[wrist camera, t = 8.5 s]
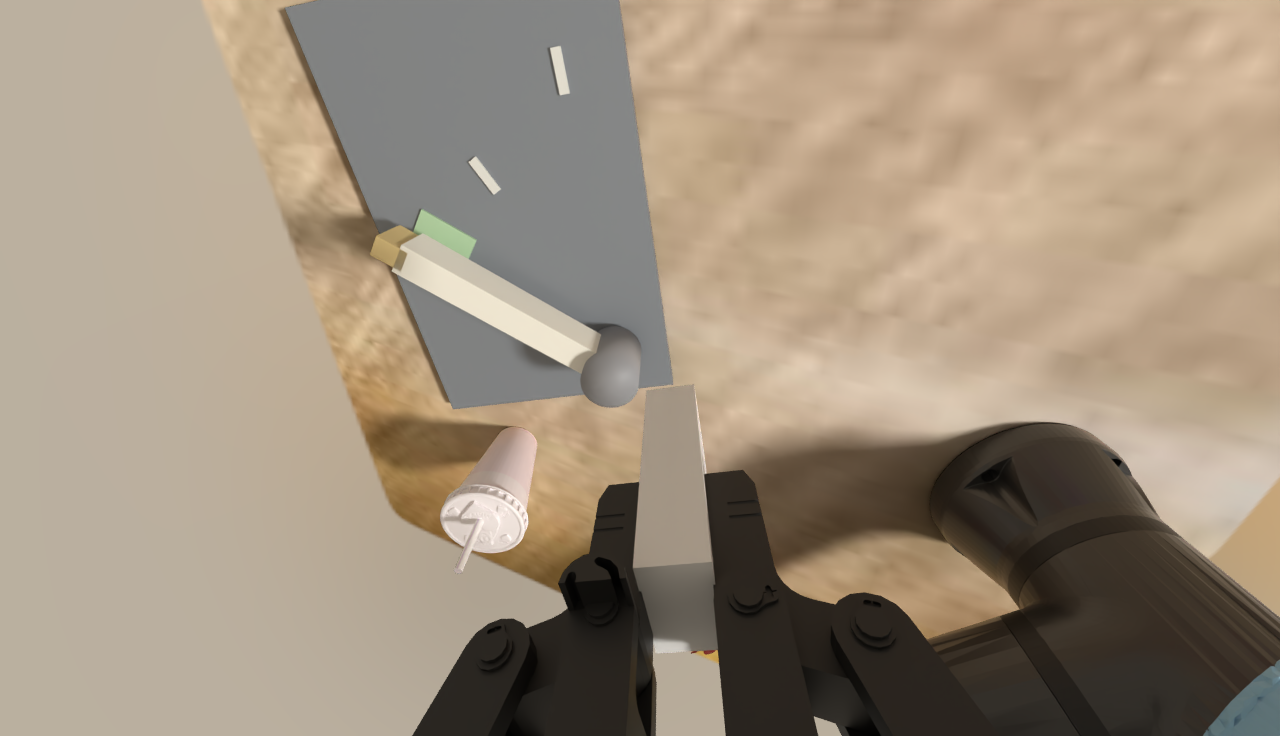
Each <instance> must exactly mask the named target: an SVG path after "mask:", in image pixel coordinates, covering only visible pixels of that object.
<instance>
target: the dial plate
mask: <svg viewBox="0 0 1280 736" xmlns="http://www.w3.org/2000/svg"><path fill="white" fill-rule="evenodd" d="M285 10H286V12H287V15H288V17H289V19H290V22H291V24H292V27H293V29H294V31H295V34H296V36H297V38H298V41H299V43H300V46H301V48H302V50H303V53H304V55H305V58H306V60H307V62H308V65H309V67H310V69H311V72H312V74H313V77H314V79H315V81H316V84H317V86H318V88H319V91H320V93H321V96H322V98H323V100H324V103H325V105H326V108H327V110H328V112H329V115H330V117H331V119H332V122H333V124H334V127H335V129H336V131H337V134H338V136H339V139H340V141H341V143H342V146H343V148H344V150H345V153H346V155H347V158H348V160H349V162H350V165H351V167H352V170H353V172H354V174H355V177H356V179H357V181H358V184H359V186H360V189H361V191H362V193H363V196H364V198H365V201H366V203H367V205H368V208H369V210H370V212H371V215H372V217H373V220H374V222H375V224H376V227H377V229H378V232H379V234H381V233H383V232H385V231H388V230H390V229H392V228H394V227H396V226H399V225H401V226H403V227H405V228H406V229H408V230H410V231H412V232H413V233H415V234H417V235H421V234H422V233H423V234H425V235H427V236H429V237H430V238H432V239H434V240H436V241H438V242H439V243H441V244H443V245H445V246H446V247H448V248H450V249H452V250H453V251H455V252H457V253H459V254H460V255H462V256H464V257H466V258H467V259H469V260H471V261H473V262H474V263H476V264H478V265H480V266H482V267H483V268H485V269H487V270H489V271H490V272H492V273H494V274H496V275H497V276H499V277H501V278H503V279H504V280H506V281H508V282H510V283H511V284H513V285H515V286H517V287H518V288H520V289H522V290H524V291H526V292H527V293H529V294H531V295H533V296H534V297H536V298H538V299H540V300H541V301H543V302H545V303H547V304H548V305H550V306H552V307H554V308H555V309H557V310H559V311H561V312H562V313H564V314H566V315H568V316H570V317H571V318H573V319H575V320H577V321H578V322H580V323H582V324H584V325H585V326H587V327H589V328H591V329H592V330H594V331H596V332H598V331H600V330H601V329H603V328H606V327H610V326H619V327H623V328H626V329H628V330H630V331H631V332H632V333H634V334H635V335H636V337H637V338H638V340H639V342H640V344H641V362H640V375H639V387H638V388H646V387H655V386H664V385H673V376H672V369H671V362H670V355H669V348H668V341H667V334H666V327H665V320H664V313H663V306H662V299H661V291H660V284H659V277H658V270H657V263H656V256H655V249H654V242H653V235H652V228H651V221H650V214H649V207H648V200H647V193H646V186H645V178H644V171H643V164H642V157H641V150H640V143H639V136H638V129H637V122H636V115H635V108H634V101H633V94H632V87H631V80H630V72H629V65H628V58H627V51H626V44H625V37H624V30H623V23H622V16H621V9H620V2H619V0H318V1H313V2H309V3H304V4H299V5H295V6H290V7H286V8H285ZM397 277H398V279H399V282H400V284H401V286H402V289H403V291H404V293H405V296H406V298H407V301H408V303H409V305H410V308H411V310H412V313H413V315H414V317H415V320H416V322H417V324H418V327H419V329H420V332H421V334H422V336H423V339H424V341H425V344H426V346H427V348H428V351H429V353H430V355H431V358H432V360H433V363H434V365H435V367H436V370H437V372H438V375H439V377H440V379H441V382H442V384H443V386H444V389H445V391H446V394H447V396H448V398H449V401H450V403H451V406H452V408H453V409H460V408H469V407H478V406H487V405H496V404H505V403H513V402H522V401H531V400H540V399H549V398H558V397H567V396H575V395H584V393H583V391H582V388H581V384H580V378H581V373H579V372H577V371H575V370H573V369H571V368H569V367H568V366H566V365H564V364H562V363H560V362H558V361H557V360H555V359H553V358H551V357H549V356H547V355H545V354H544V353H542V352H540V351H538V350H536V349H534V348H532V347H531V346H529V345H527V344H525V343H523V342H521V341H519V340H518V339H516V338H514V337H512V336H510V335H508V334H507V333H505V332H503V331H501V330H499V329H497V328H495V327H494V326H492V325H490V324H488V323H486V322H484V321H482V320H481V319H479V318H477V317H475V316H473V315H471V314H469V313H468V312H466V311H464V310H462V309H460V308H458V307H456V306H455V305H453V304H451V303H449V302H447V301H445V300H444V299H442V298H440V297H438V296H436V295H434V294H432V293H431V292H429V291H427V290H425V289H423V288H421V287H419V286H418V285H416V284H414V283H412V282H410V281H408V280H406V279H405V278H403V277H401V276H399V275H397Z"/></svg>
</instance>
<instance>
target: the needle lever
mask: <svg viewBox="0 0 1280 736" xmlns="http://www.w3.org/2000/svg"><path fill="white" fill-rule="evenodd" d="M370 255H371V256H373V257H374V258H376V259H378V260H380V261H382V262H384V263H386V264H387V265H389V266H391V267H393V269H392V272H394V273H395V274H397V275H399V276H401V277H403V278H405V279H406V280H408V281H410V282H412V283H414V284H416V285H418V286H419V287H421V288H423V289H425V290H427V291H429V292H431V293H432V294H434V295H436V296H438V297H440V298H442V299H444V300H445V301H447V302H449V303H451V304H453V305H455V306H456V307H458V308H460V309H462V310H464V311H466V312H468V313H469V314H471V315H473V316H475V317H477V318H479V319H481V320H482V321H484V322H486V323H488V324H490V325H492V326H494V327H495V328H497V329H499V330H501V331H503V332H505V333H507V334H508V335H510V336H512V337H514V338H516V339H518V340H519V341H521V342H523V343H525V344H527V345H529V346H531V347H532V348H534V349H536V350H538V351H540V352H542V353H544V354H545V355H547V356H549V357H551V358H553V359H555V360H557V361H558V362H560V363H562V364H564V365H566V366H568V367H569V368H571V369H573V370H575V371H577V372H579V373H581V378H580V384H581V388H582V391H583V393H584V394H585V396H586V397H587V398H588V399H589V400H590V401H592V402H593V403H595V404H597V405H599V406H603V407H609V408H613V407H619V406H622V405H625V404H627V403H628V402H630V401H631V400H632V399H633V398H634V397H635V395H636V393H637V391H638V387H639V375H640V362H641V344H640V342H639V340H638V338H637V337H636V335H635V334H634V333H632V332H631V331H630V330H628V329H626V328H623V327H619V326H610V327H606V328H603V329H601V330H600V331H598V332H596V331H594V330H592V329H591V328H589V327H587V326H585V325H584V324H582V323H580V322H578V321H577V320H575V319H573V318H571V317H570V316H568V315H566V314H564V313H562V312H561V311H559V310H557V309H555V308H554V307H552V306H550V305H548V304H547V303H545V302H543V301H541V300H540V299H538V298H536V297H534V296H533V295H531V294H529V293H527V292H526V291H524V290H522V289H520V288H518V287H517V286H515V285H513V284H511V283H510V282H508V281H506V280H504V279H503V278H501V277H499V276H497V275H496V274H494V273H492V272H490V271H489V270H487V269H485V268H483V267H482V266H480V265H478V264H476V263H474V262H473V261H471V260H469V259H467V258H466V257H464V256H462V255H460V254H459V253H457V252H455V251H453V250H452V249H450V248H448V247H446V246H445V245H443V244H441V243H439V242H438V241H436V240H434V239H432V238H430V237H429V236H427V235H425V234H423V233H422V234H421V235H417V234H415V233H413V232H412V231H410V230H408V229H406V228H405V227H403V226H401V225H399V226H396V227H394V228H392V229H390V230H388V231H385V232H383V233H381V234H379V235H377V236H376V238H375V241H374V244H373V247H372V250H371V253H370Z"/></svg>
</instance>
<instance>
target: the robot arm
mask: <svg viewBox="0 0 1280 736" xmlns="http://www.w3.org/2000/svg"><path fill="white" fill-rule="evenodd" d="M930 511H931V515H932V518H933V520H934V522H935V524H936V525H937V527H938V528H939V530H940V531H941V533H942V534H943V536H944V538H945V539H946V540H947V542H948V543H949V544H950V545H951V546H952V547H953V548H954V549H955V550H956V551H958V552H959V553H960V554H962V555H963V556H965V557H966V558H968V559H969V560H970V561H971V562H972V563H973V564H975V565H976V566H977V567H978V568H979V569H980V570H982V571H983V572H984V573H985V574H987V575H988V576H989V577H990V578H991V579H993V580H994V581H995V582H996V583H998V584H999V585H1000V586H1001V587H1003V588H1004V589H1005V590H1006V591H1007V592H1008V593H1009V595H1010V596H1011V598H1012V599H1013V600H1014V602H1015V603H1016V604H1017V606H1018V607H1019V609H1020V610H1017V611H1014V612H1011V613H1008V614H1005V615H1002V616H998V617H995V618H992V619H989V620H986V621H983V622H980V623H977V624H974V625H971V626H968V627H964V628H961V629H958V630H955V631H952V632H948V633H945V634H942V635H939V636H936V637H932V638H929V639H926V638H925V637H924V636H923V634H922V633H921V632H920V631H919V629H918V628H917V627H916V625H915V624H914V623H913V621H912V620H911V619H910V617H909V616H908V615H907V614H906V613H905V612H904V611H903V610H902V609H900V608H899V607H898V606H897V605H896V604H895V603H893V602H891V601H889V600H887V599H885V598H884V597H882V596H878V595H874V594H869V593H855V594H849V595H848V596H846V597H844V598H842V599H840V600H839V601H838V602H837V604H836V605H835V604H830V603H826V602H822V601H817V600H813V599H810V598H807V597H804V596H801V595H800V594H798V593H796V592H794V591H793V590H791V589H790V588H789V587H788V586H787V585H785V584H784V583H783V582H782V580H781V579H780V577H779V576H778V575H777V572H776V569H775V567H774V563H773V559H772V555H771V551H770V546H769V542H768V538H767V534H766V530H765V525H764V521H763V517H762V513H761V509H760V504H759V501H758V496H757V492H756V488H755V483H754V482H753V481H752V480H751V479H750V478H749V476H748V475H747V474H746V473H745V472H744V471H743V470H738V471H729V472H719V473H710V474H707V473H706V464H705V455H704V448H703V441H702V435H701V428H700V421H699V414H698V407H697V401H696V394H695V387H694V384H693V385H685V386H677V387H670V388H662V389H654V390H647V391H646V403H645V416H644V429H643V442H642V455H641V468H640V481H639V482H636V483H626V484H616V485H609V486H608V487H607V489H606V490H605V492H604V493H603V495H602V496H601V498H600V499H599V502H598V508H597V513H596V519H595V525H594V533H593V536H592V541H591V547H590V552H589V554H586V555H583V556H582V557H580V558H578V559H577V560H575V561H573V562H572V563H571V564H570V565H569V566H568V567H567V568H566V569H565V570H564V572H563V574H562V576H561V578H560V580H559V583H558V584H559V587H560V589H561V592H562V594H563V597H564V599H565V602H566V605H567V607H568V609H566V610H565V611H564V612H563V613H561V614H560V615H558V616H556V617H554V618H552V619H549V620H547V621H544V622H542V623H539V624H537V625H534V626H532V627H529V628H526V627H525V626H524V624H523V623H521V622H519V621H517V620H515V619H500V620H497V621H495V622H492V623H490V624H488V625H486V626H485V627H484V628H483V629H481V630H480V631H478V632H477V633H476V634H475V635H474V636H473V638H472V639H471V640H470V642H469V643H468V644H467V645H466V647H465V649H464V650H463V652H462V654H461V655H460V657H459V659H458V660H457V662H456V664H455V665H454V667H453V669H452V670H451V672H450V674H449V675H448V677H447V679H446V680H445V682H444V684H443V685H442V687H441V689H440V690H439V692H438V694H437V696H436V697H435V699H434V700H433V702H432V704H431V705H430V707H429V709H428V710H427V712H426V714H425V715H424V717H423V719H422V720H421V722H420V724H419V725H418V727H417V729H416V731H415V732H414V734H413V735H412V736H656V677H655V671H654V668H653V643H654V646H655V651H656V653H669V652H688V651H706V650H718V656H719V667H720V678H721V688H722V699H723V709H724V721H725V732H726V736H818V733H817V729H816V725H815V721H814V716H815V717H818V718H821V719H824V720H827V721H830V722H833V723H836V725H837V727H838V729H839V731H840V733H841V735H842V736H1280V617H1279V616H1277V615H1276V614H1275V613H1273V612H1272V611H1271V610H1270V609H1269V608H1267V607H1266V606H1265V605H1264V604H1263V603H1261V602H1260V601H1259V600H1258V599H1257V598H1255V597H1254V596H1253V595H1251V594H1250V593H1249V592H1248V591H1247V590H1246V589H1244V588H1243V587H1242V586H1241V585H1239V584H1238V583H1237V582H1235V580H1233V579H1232V578H1231V577H1230V576H1228V575H1227V574H1226V573H1225V572H1224V571H1222V570H1221V569H1220V568H1219V567H1217V566H1216V565H1215V564H1214V563H1212V562H1211V561H1210V560H1209V559H1208V558H1206V557H1205V556H1204V555H1203V554H1202V553H1200V552H1199V551H1198V550H1197V549H1195V548H1194V547H1193V546H1192V545H1191V544H1189V543H1188V542H1187V541H1185V540H1184V539H1183V538H1182V537H1181V536H1179V535H1178V534H1177V533H1176V532H1175V531H1173V530H1172V529H1171V528H1170V527H1169V526H1168V525H1166V524H1165V523H1164V522H1163V521H1162V520H1161V519H1160V517H1159V516H1158V514H1157V513H1156V511H1155V509H1154V508H1153V506H1152V505H1151V503H1150V501H1149V500H1148V498H1147V497H1146V495H1145V494H1144V492H1143V490H1142V489H1141V487H1140V486H1139V484H1138V483H1137V482H1136V480H1135V479H1134V478H1133V477H1132V475H1131V472H1130V470H1129V468H1128V466H1127V465H1126V463H1125V462H1124V460H1123V459H1122V458H1121V457H1120V456H1119V455H1118V454H1117V453H1116V452H1115V451H1114V450H1112V449H1111V448H1110V447H1108V446H1107V445H1106V444H1105V443H1103V442H1102V441H1101V440H1099V439H1098V438H1097V437H1095V436H1094V435H1092V434H1091V433H1089V432H1087V431H1085V430H1083V429H1080V428H1077V427H1073V426H1069V425H1062V424H1036V425H1028V426H1023V427H1018V428H1014V429H1011V430H1007V431H1004V432H1001V433H999V434H996V435H994V436H991V437H989V438H987V439H985V440H983V441H981V442H979V443H977V444H976V445H974V446H972V447H971V448H969V449H968V450H966V451H965V452H963V453H962V454H961V455H960V456H958V457H957V458H956V459H955V460H954V461H953V462H952V463H951V464H950V465H949V466H948V467H947V468H946V469H945V470H944V471H943V473H942V474H941V475H940V477H939V478H938V480H937V482H936V484H935V486H934V488H933V491H932V494H931V498H930Z"/></svg>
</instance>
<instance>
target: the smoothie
mask: <svg viewBox="0 0 1280 736" xmlns="http://www.w3.org/2000/svg"><path fill="white" fill-rule="evenodd" d="M536 450H537V441H536V439H535V437H534V436H533V435H532V434H531V433H530V432H529V431H527V430H525V429H523V428H520V427H509V428H506V429H504V430H502V431H501V432H500V433H499V434H498V436H497V437H496V439H495V440H494V441H493V443H492V444H491V445H490V447H489V448H488V449H487V451H486V452H485V453H484V455H483V456H482V457H481V459H480V460H479V462H478V463H477V464H476V466H475V467H474V468H473V470H472V471H471V472H470V474H469V475H468V476H467V478H466V479H465V480H464V482H463V483H462V484H461V486H460V487H459V488H457V489H455V490H454V491H453V492H452V493H450V494H449V495H448V497H447V499H446V500H445V503H444V506H443V507H442V510H441V513H440V521H441V524H442V527H443V529H444V530H445V532H446V533H447V534H448V536H449V537H450V538H451V539H453V540H454V541H455V542H456V543H458V544H460V545H461V546H463V547H464V548H463V551H462V553H461V555H460V557H459V560H458V562H457V564H456V567H455V569H454V572H455V573H457V574H461V573H462V571H463V569H464V567H465V565H466V562H467V560H468V558H469V555H470V553H471V551H472V550H474V551H477V552H483V553H499V552H504V551H507V550H509V549H511V548H513V547H515V546H516V545H517V544H519V542H520V541H521V540H522V538H523V536H524V533H525V531H526V529H527V526H528V514H527V512H526V509H527V504H528V497H529V491H530V485H531V480H532V474H533V468H534V462H535V456H536Z"/></svg>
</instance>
